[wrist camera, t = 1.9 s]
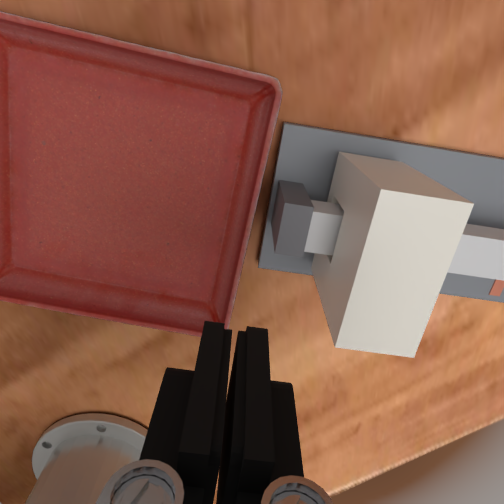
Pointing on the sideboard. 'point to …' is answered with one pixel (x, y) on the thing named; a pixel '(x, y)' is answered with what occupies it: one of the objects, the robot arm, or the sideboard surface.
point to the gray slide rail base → (331, 214)
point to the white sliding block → (387, 253)
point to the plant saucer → (126, 176)
